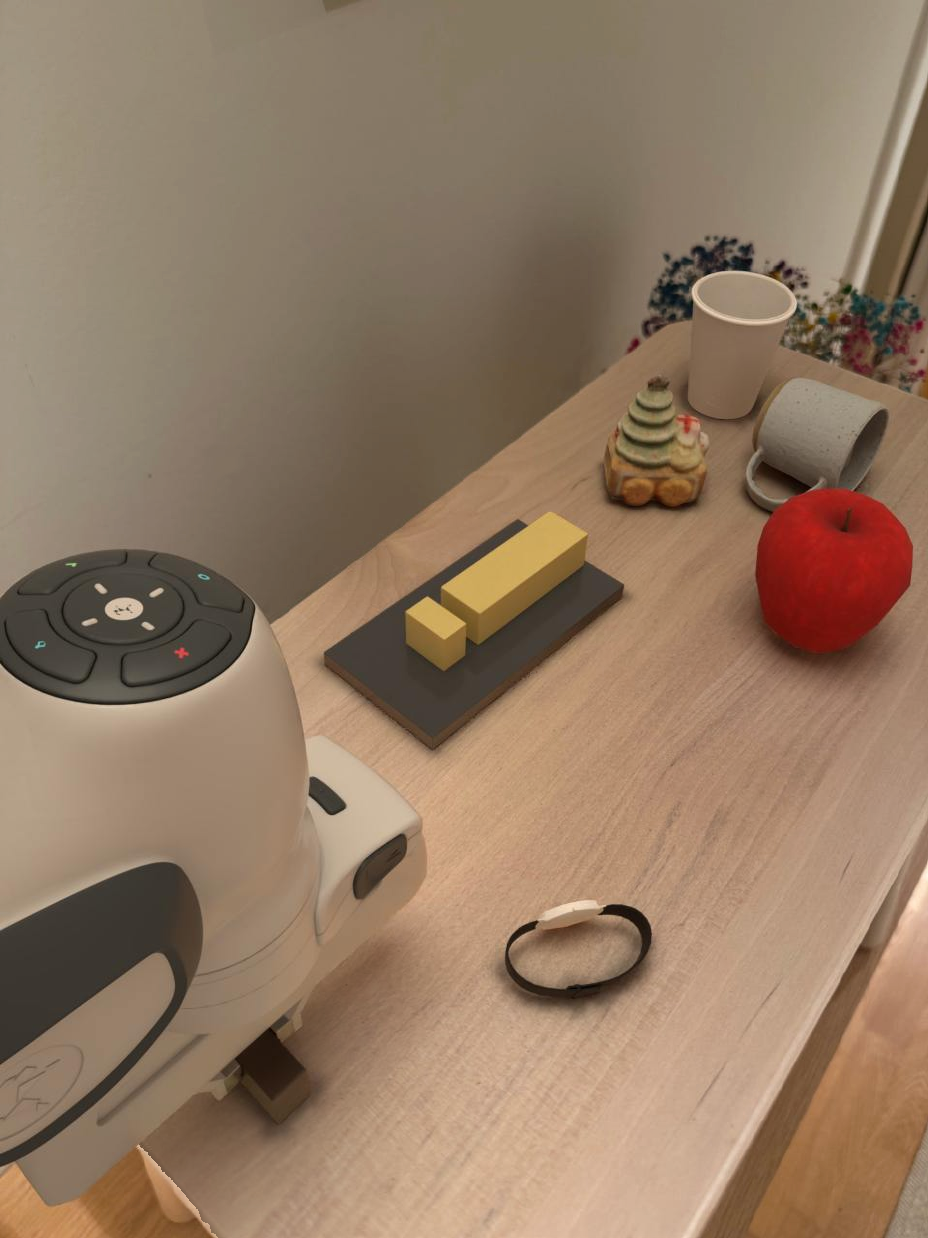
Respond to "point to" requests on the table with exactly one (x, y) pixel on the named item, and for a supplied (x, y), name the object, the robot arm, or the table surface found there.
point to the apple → (831, 568)
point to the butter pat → (435, 633)
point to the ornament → (656, 451)
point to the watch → (574, 915)
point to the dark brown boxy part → (273, 1076)
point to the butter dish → (486, 670)
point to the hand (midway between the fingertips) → (251, 1052)
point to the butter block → (515, 575)
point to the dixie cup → (734, 339)
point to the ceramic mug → (816, 437)
